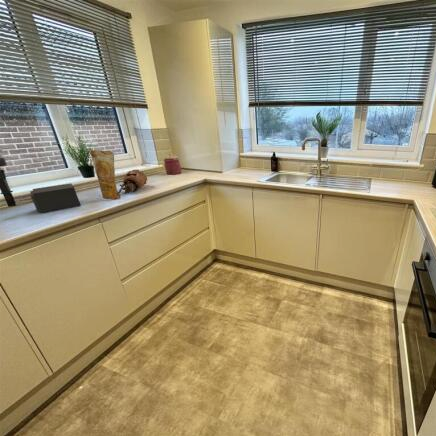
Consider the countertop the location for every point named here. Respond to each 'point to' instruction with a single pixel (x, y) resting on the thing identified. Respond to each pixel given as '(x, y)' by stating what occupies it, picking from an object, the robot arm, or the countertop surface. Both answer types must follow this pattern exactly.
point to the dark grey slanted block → (56, 198)
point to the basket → (29, 201)
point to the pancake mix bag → (105, 172)
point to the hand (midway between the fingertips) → (12, 205)
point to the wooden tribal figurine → (133, 181)
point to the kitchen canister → (172, 165)
